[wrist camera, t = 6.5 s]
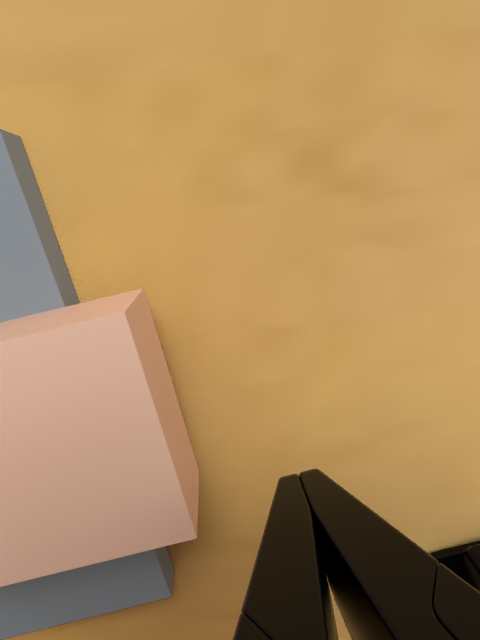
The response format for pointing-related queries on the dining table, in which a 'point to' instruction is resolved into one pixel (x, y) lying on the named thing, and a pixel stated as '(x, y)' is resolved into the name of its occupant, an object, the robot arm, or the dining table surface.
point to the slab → (89, 440)
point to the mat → (27, 299)
